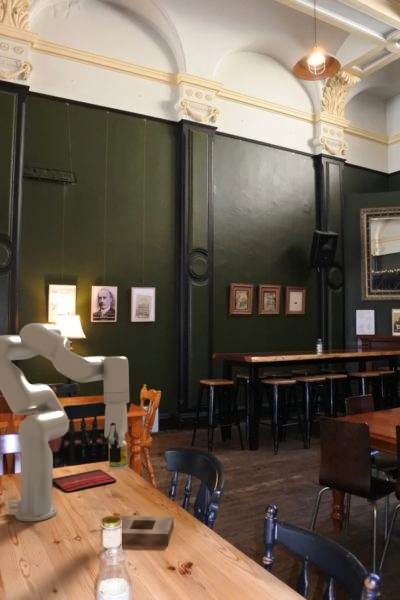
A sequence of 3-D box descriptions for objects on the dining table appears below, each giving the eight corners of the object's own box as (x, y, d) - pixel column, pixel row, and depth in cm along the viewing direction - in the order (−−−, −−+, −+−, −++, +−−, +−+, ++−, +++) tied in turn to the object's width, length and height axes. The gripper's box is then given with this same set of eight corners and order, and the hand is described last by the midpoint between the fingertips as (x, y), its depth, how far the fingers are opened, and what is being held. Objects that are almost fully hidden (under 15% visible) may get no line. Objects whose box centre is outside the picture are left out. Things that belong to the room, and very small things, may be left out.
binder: (50, 478, 184) (99, 468, 198) (49, 484, 184) (99, 474, 197) (66, 490, 172) (118, 479, 185) (66, 497, 172) (118, 485, 185)
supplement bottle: (122, 463, 146) (121, 431, 147) (130, 467, 141) (129, 434, 142) (106, 467, 143) (105, 434, 144) (113, 470, 138) (112, 437, 139)
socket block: (109, 544, 130) (109, 532, 130) (120, 526, 142) (120, 516, 142) (167, 545, 129) (167, 534, 129) (173, 527, 141) (173, 517, 141)
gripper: (111, 394, 152) (112, 452, 151) (96, 401, 135) (97, 467, 134) (134, 394, 152) (136, 452, 151) (122, 401, 135) (123, 466, 134)
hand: (117, 458), depth 142 cm, fingers closed on supplement bottle, 5 cm apart
